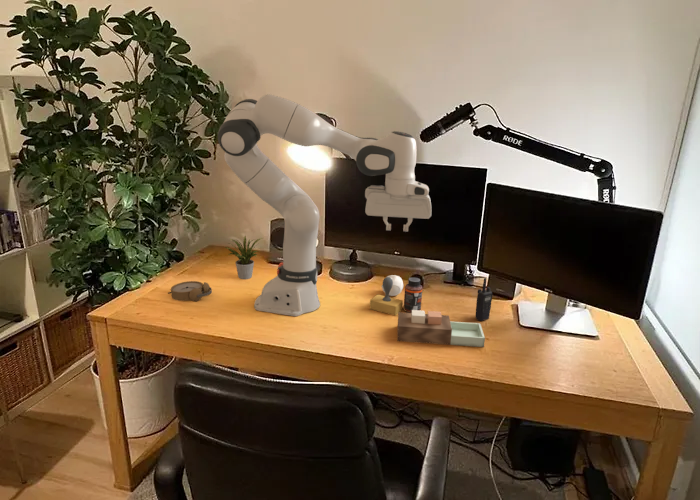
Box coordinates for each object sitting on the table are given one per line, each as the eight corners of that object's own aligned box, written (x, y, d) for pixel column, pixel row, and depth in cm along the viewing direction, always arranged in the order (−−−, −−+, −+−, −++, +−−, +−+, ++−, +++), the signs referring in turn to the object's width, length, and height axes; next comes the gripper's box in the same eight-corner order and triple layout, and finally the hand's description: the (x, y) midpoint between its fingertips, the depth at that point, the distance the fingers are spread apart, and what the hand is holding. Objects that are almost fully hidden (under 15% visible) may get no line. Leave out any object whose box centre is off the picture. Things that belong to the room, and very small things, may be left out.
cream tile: (411, 322, 165) (412, 315, 164) (411, 317, 169) (411, 309, 168) (424, 323, 165) (425, 316, 164) (424, 317, 168) (424, 310, 168)
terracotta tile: (427, 323, 165) (428, 316, 164) (427, 318, 168) (427, 310, 168) (441, 324, 164) (441, 317, 164) (440, 319, 168) (440, 311, 167)
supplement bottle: (420, 314, 183) (422, 283, 179) (402, 312, 184) (404, 281, 180) (421, 307, 188) (423, 277, 185) (404, 305, 189) (406, 275, 186)
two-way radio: (479, 322, 178) (484, 280, 173) (470, 317, 182) (474, 275, 177) (491, 318, 181) (496, 277, 176) (481, 313, 185) (486, 273, 180)
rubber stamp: (402, 310, 186) (404, 277, 182) (395, 316, 181) (397, 283, 177) (376, 303, 190) (378, 271, 186) (369, 309, 185) (370, 277, 182)
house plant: (253, 267, 221) (251, 228, 215) (272, 276, 211) (271, 237, 206) (222, 274, 211) (220, 235, 206) (240, 285, 202) (239, 243, 197)
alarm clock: (182, 280, 198) (217, 279, 193) (185, 292, 199) (219, 292, 194) (163, 291, 188) (199, 290, 183) (166, 304, 189) (202, 303, 184)
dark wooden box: (397, 341, 164) (398, 326, 162) (397, 326, 173) (398, 312, 172) (450, 344, 163) (451, 329, 161) (447, 329, 172) (448, 315, 171)
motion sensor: (386, 289, 203) (387, 270, 200) (405, 293, 200) (407, 273, 197) (378, 296, 196) (379, 276, 193) (397, 301, 193) (399, 280, 190)
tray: (450, 344, 163) (451, 335, 162) (447, 329, 172) (448, 321, 171) (483, 347, 162) (484, 338, 161) (479, 331, 172) (480, 323, 171)
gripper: (364, 187, 160) (362, 231, 165) (433, 190, 159) (430, 235, 163) (366, 182, 166) (364, 225, 171) (432, 186, 165) (429, 229, 169)
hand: (397, 230), depth 167 cm, fingers open, 4 cm apart
